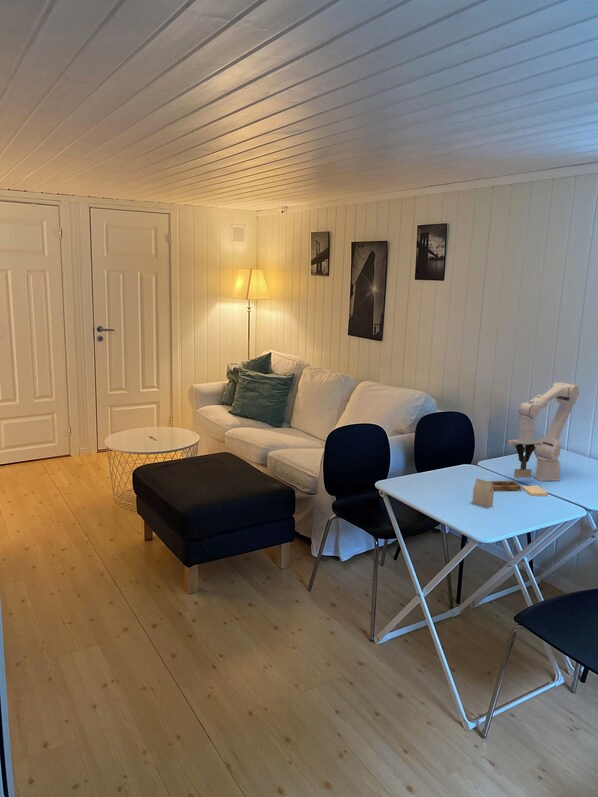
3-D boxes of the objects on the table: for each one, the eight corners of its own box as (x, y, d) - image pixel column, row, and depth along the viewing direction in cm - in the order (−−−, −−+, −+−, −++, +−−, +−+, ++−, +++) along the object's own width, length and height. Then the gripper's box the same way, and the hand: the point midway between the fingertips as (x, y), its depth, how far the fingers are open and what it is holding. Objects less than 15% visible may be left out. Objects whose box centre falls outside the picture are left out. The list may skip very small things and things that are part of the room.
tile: (537, 485, 262) (547, 493, 254) (537, 489, 263) (547, 497, 254) (521, 486, 262) (531, 493, 253) (521, 490, 262) (531, 497, 253)
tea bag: (487, 508, 239) (489, 483, 237) (472, 503, 244) (474, 479, 242) (492, 505, 242) (494, 481, 240) (477, 501, 247) (478, 477, 245)
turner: (529, 476, 269) (531, 455, 267) (531, 477, 268) (532, 456, 266) (514, 476, 268) (515, 455, 267) (515, 477, 267) (516, 456, 266)
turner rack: (513, 485, 267) (514, 480, 266) (520, 491, 260) (521, 486, 259) (486, 485, 266) (486, 481, 265) (492, 491, 259) (492, 486, 258)
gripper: (538, 428, 269) (535, 458, 271) (506, 428, 268) (503, 458, 270) (546, 432, 262) (543, 463, 264) (512, 432, 261) (510, 463, 264)
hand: (523, 461), depth 267 cm, fingers closed on turner
